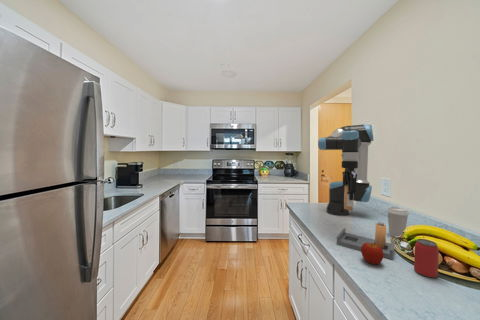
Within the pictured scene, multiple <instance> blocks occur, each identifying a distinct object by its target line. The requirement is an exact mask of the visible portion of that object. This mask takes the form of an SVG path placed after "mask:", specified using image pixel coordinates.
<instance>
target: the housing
mask: <svg viewBox="0 0 480 320" xmlns="http://www.w3.org/2000/svg"><path fill="white" fill-rule="evenodd" d="M374 230H375V233H374V234H375V235H374V236H375V238H370V237H366V236H361V235H356V234H353V233H350V232H349V233H348V232H346V231H347V229H346V228H343V229H342V230H341V231H340V232H339V233H338V235H336V245H337V246H340V247H345V248H349V249H353V250H356V251H360V252H361V246H362V245H363V244H364V243H373V244H376V245H378V246H379V247H380V248H381V249H382V251H383V254H384V257H383V259H388V260H391V261H393V260H394V254H395V249H394V246H395V245H396V240H394V239H392V240H391V243H390V242H387V225H386V224H385V223H384V222H380V221H378V222H377V223H375V229H374Z"/></svg>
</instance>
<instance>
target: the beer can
mask: <svg viewBox="0 0 480 320" xmlns="http://www.w3.org/2000/svg"><path fill="white" fill-rule="evenodd" d="M439 255H440V251H439V248H438V244H437V242H435V241H433V240H429V239H425V238H424V239H423V238H417V240H416V242H415V245H414V258H413V259H414V261H413V263H414V264H413V269H414V271H415V272H416V273H418V274H419V275H421V276H424V277H425V278H426V277H427V278H433V279H435V278H437V277H438V276H439V261H440V260H439Z"/></svg>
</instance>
